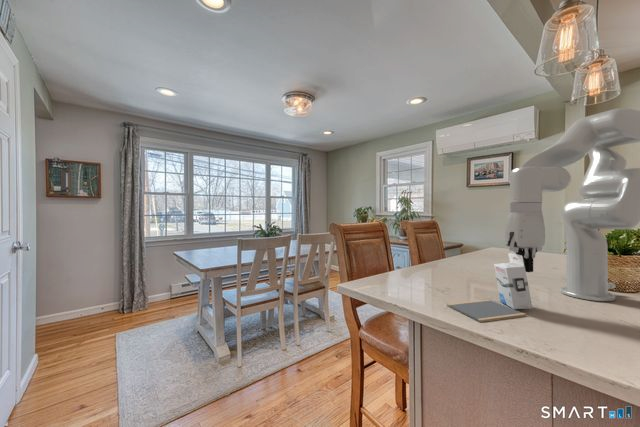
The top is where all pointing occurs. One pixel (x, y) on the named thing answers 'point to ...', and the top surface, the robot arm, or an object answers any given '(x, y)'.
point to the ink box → (513, 283)
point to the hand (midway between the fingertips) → (525, 270)
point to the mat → (485, 310)
